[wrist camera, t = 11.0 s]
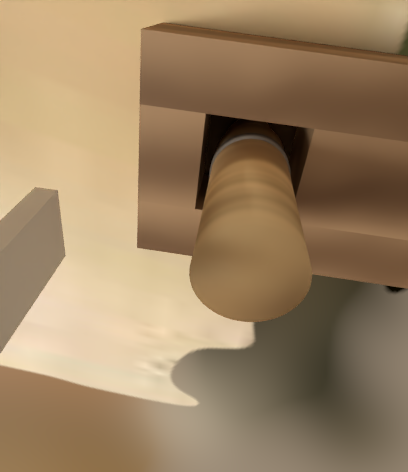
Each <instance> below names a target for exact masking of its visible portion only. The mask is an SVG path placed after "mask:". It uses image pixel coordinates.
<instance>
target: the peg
mask: <svg viewBox="0 0 408 472" xmlns="http://www.w3.org/2000/svg"><path fill="white" fill-rule="evenodd" d="M290 175H291V172H290V165H289V161H288V158H287V155H286V153H285V151H284V147H283V144H282V142H281V140H280V138H279V137H278V136H277V135H276V134H275V133H274V132H273V130H272V128H271V127H270V126H269V124H268V123H267V122H262V121H255V120H248V119H241V118H240V119H238V120H237V121H235V122H234V123H233V124H232V125H231V126H230V127H229V128H228V130H227V132H226V134H225V135H224V136H223V137H222V138H221V139H220V141H219V143H218V145H217V148H216V151H215V154H214V156H213V159H212V162H211V167H210V173H209V183H208V187H207V192H206V196H205V201H204V205H203V210H202V215H201V219H200V224H199V228H198V233H197V237H196V242H195V246H194V251H193V255H192V260H191V265H190V274H189V275H190V282H191V285H192V288H193V290H194V292H195V294H196V295H197V297H198V298H199V299H200V301H201V302H202V303H203V304H204V305H205V306H207V307H208V308H209V309H211V310H212V311H213V312H215V313H217V314H219V315H221V316H224V317H226V318H229V319H232V320H237V321H244V322H259V321H266V320H270V319H274V318H277V317H280V316H282V315H284V314H286V313H287V312H289V311H291V310H292V309H294V308H295V307H296V306H297V305H298V304H299V303H300V302H301V301H302V300H303V299H304V297H305V296H306V294H307V293H308V290H309V288H310V284H311V281H312V268H311V264H310V259H309V255H308V251H307V246H306V242H305V238H304V233H303V229H302V225H301V220H300V216H299V212H298V207H297V203H296V199H295V194H294V190H293V186H292V181H291V177H290Z"/></svg>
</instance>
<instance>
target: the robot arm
mask: <svg viewBox="0 0 408 472" xmlns="http://www.w3.org/2000/svg"><path fill="white" fill-rule="evenodd" d="M64 257H65V248H64V240H63V231H62V223H61V215H60V206H59V198H58V190H51V189H44V188H37V187H35V188H34V189H33V190H32V191H31V192H30V193H29V194H28V195H27V196H26V197H25V198H23V199H22V200H21V201H20V202H19V203H18V204H17V205H16V206H15V207H14V208H13V209H12V210H11V211H10V212H9V213H8V214H7V215H6V216H5V217H4V218H3V219H2V220H0V353H1V351H2V350H3V348H4V347H5V345H6V344H7V342H8V341H9V339H10V338H11V336H12V335H13V333H14V332H15V330H16V329H17V327H18V326H19V324H20V323H21V321H22V320H23V318H24V317H25V315H26V314H27V312H28V311H29V309H30V308H31V306H32V305H33V303H34V302H35V300H36V299H37V297H38V296H39V294H40V293H41V291H42V290H43V288H44V287H45V285H46V284H47V282H48V281H49V279H50V278H51V276H52V275H53V273H54V272H55V270H56V269H57V267H58V266H59V264H60V263H61V261H62V260H63V258H64Z"/></svg>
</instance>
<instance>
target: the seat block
mask: <svg viewBox="0 0 408 472" xmlns="http://www.w3.org/2000/svg"><path fill="white" fill-rule="evenodd" d="M211 114H213V115H220V116H227V117H234V118H241V119H248V120H255V121H262V122H269V123H276V124H283V125H291V126H297V129H296V133H295V137H294V141H293V145H292V149H291V153H290V157H289V165H290V172H291V175H290V177H291V181H292V186H293V190H294V194H295V199H296V203H297V207H298V212H299V216H300V220H301V225H302V229H303V233H304V238H305V242H306V246H307V251H308V255H309V259H310V264H311V268H312V274H315V275H322V276H329V277H335V278H342V279H349V280H356V281H362V282H368V283H375V284H382V285H388V286H395V287H402V288H408V56H404V55H397V54H390V53H382V52H375V51H368V50H360V49H353V48H346V47H338V46H331V45H323V44H316V43H309V42H301V41H294V40H286V39H279V38H272V37H264V36H257V35H249V34H242V33H235V32H227V31H220V30H212V29H205V28H198V27H190V26H183V25H175V24H168V23H160V24H157V25H153V26H150V27H146V28H143V29H141V68H140V123H139V178H138V233H137V248H143V249H149V250H156V251H163V252H169V253H176V254H183V255H189V256H192V255H193V251H194V246H195V242H196V237H197V233H198V228H199V224H200V219H201V215H202V210H203V205H204V201H205V196H206V192H207V187H208V183H209V175H204V169H205V160H206V152H207V144H208V135H209V127H210V119H211Z"/></svg>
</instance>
